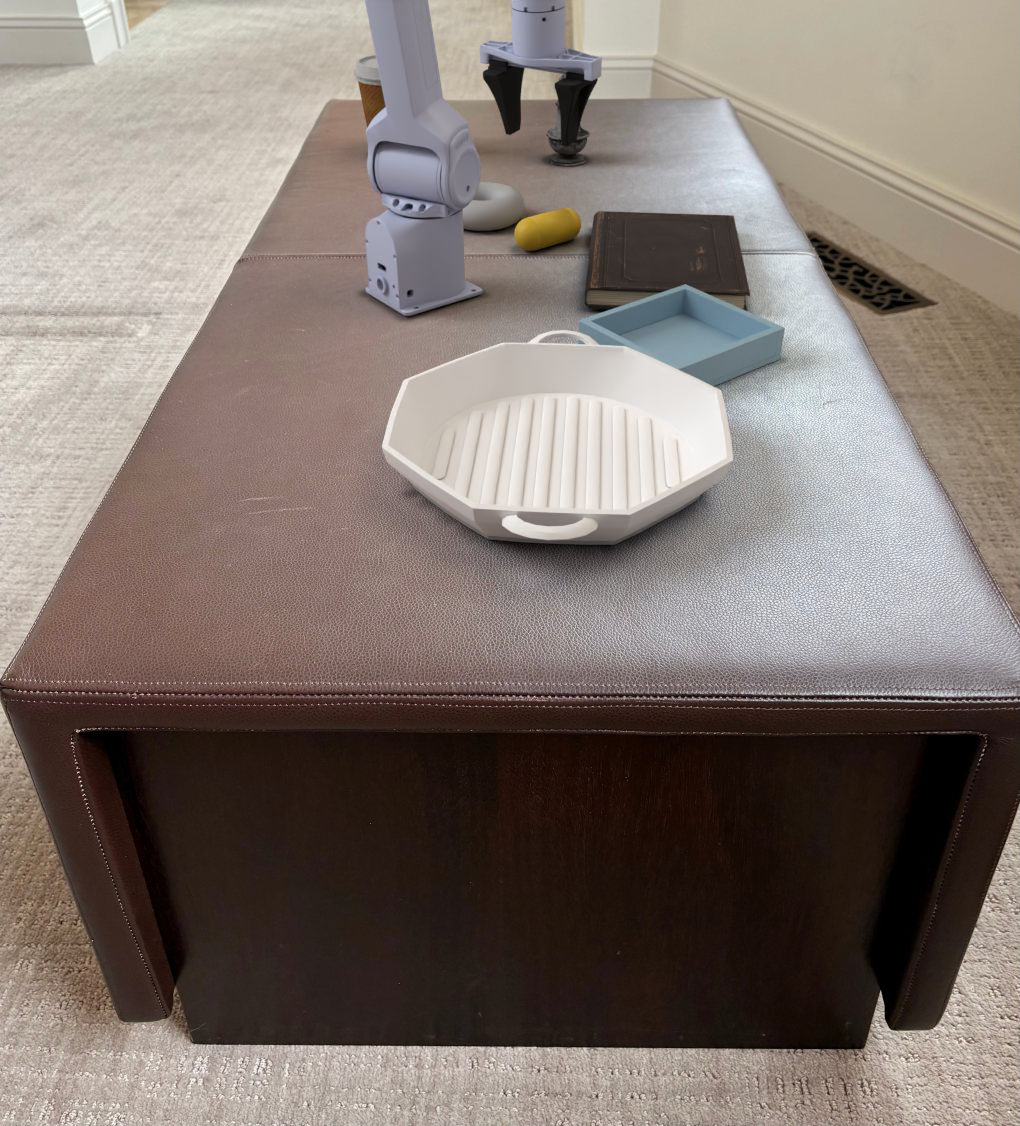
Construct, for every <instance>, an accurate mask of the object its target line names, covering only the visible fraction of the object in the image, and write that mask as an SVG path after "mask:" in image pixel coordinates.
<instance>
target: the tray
mask: <svg viewBox="0 0 1020 1126" xmlns="http://www.w3.org/2000/svg"><path fill="white" fill-rule="evenodd" d="M785 330H786V328H785V327H784V326H782V325H780V324H777V323H775V322H773V321H771V320H768V319H766V318H764V317H762V316H758V315H756V314H754V313H752V312H750V311H748V310H747V311H745V310H743V309H741V308H738V307H736V306H734V305H732V304H729V303H727V302H725V301H722V300H720V299H718V298H716V297H713V296H711V295H709V294H707V293H704V292H702V291H700V290H697V289H695V288H693V287H691V286H688V285H686V284H685V285H682V286H679V287H676V288H673V289H670V290H667V291H664V292H661V293H658V294H655V295H652V296H649V297H646V298H644V299H641V300H638V301H635V302H632V303H629V304H626V305H623V306H620V307H617V308H614V309H611V310H605V311H602V312H599V313H596V314H593V315H591V316H588V317H587V316H586V317H584V318H582V319H579V320H578V332H580V333H582V334H585V335H588V336H590V337H591V338H592V339H593V340H595V341H596V342H597V343H598V344H599V345H611V346H627V347H629V348H631V349H634V350H636V351H638V352H640V353H643V354H645V355H647V356H650V357H652V358H654V359H656V360H658V361H661V362H663V363H665V364H667V365H669V366H671V367H673V368H676V369H678V370H680V371H682V372H684V373H686V374H689V375H691V376H693V377H695V378H697V379H699V380H701V381H703V382H705V383H707V384H709V385H711V386H713V387H715V386H718V385H720V384H723V383H725V382H727V381H730V380H733V379H734V378H735V379H736V378H737V377H739V376H742V375H745V374H747V373H750V372H752V371H755V370H756V369H759V368H761V367H764V366H766V365H769V364H771V363H774V362H777V361H779V360H780V359H781V353H782V350H783V349H782V348H783V343H784V336H785ZM577 344H585V343H584V342H583V341H580V340H578V339H577Z"/></svg>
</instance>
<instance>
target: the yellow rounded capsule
mask: <svg viewBox="0 0 1020 1126" xmlns="http://www.w3.org/2000/svg"><path fill="white" fill-rule="evenodd" d="M516 224H517V225H516V226H515V228H514V232H513V233H514V234H513V235H514V236H513V237H514V240H515V243H516V244H517V246H518V247H519V248H520V249H522V250H523V251H526V252H534V251H539V250H541V249H545V248H548V247H552V246H555V245H558V244H562V243H566V242H569V241H571V240H574V239H575V238H576V237H578V235H579V234H580V231H581V230H582V229H581V228H582V220H581V217H580V215H579V214H578V212H577V211H576V210H575V209H572V208H570V207H562V208H558V209H554V210H550V211H546V212H543V213H539V214H535V215H532V216H528V217H524V218H523V219H520V220H519V221H518V222H517V223H516Z"/></svg>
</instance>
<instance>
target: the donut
mask: <svg viewBox="0 0 1020 1126" xmlns="http://www.w3.org/2000/svg"><path fill="white" fill-rule="evenodd" d="M525 204H526V203H525V198H524V197H523V194H522V193H520V192H519V191H518V190H517V189H516V188H514V187H512V186H509V185H507V184H503V183H497V182H489V181H480V183H479V187H478V190H477V192H476V195H475V196H474V198H473V199H472V201H471V202H470V203H469V205H468V206H466V207H465V208H464V209H463V230H467V231H475V232H489V231H496V230H497V231H498V230H502V229H505V228H508V227H511V226H513V225H515V224H517V223H518V222H520V221H521V218H522V217H523V215H524V213H525V210H526V205H525Z"/></svg>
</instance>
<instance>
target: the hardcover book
mask: <svg viewBox="0 0 1020 1126" xmlns="http://www.w3.org/2000/svg"><path fill="white" fill-rule="evenodd" d="M587 263H588V264H587V271H586V281H585V289H584V297H583V299H584V304H585V307H587V308H588V309H590V310H605V311H608V310H611V309H614V308H617V307H620V306H623V305H626V304H629V303H632V302H635V301H638V300H641V299H644V298H646V297H649V296H652V295H655V294H658V293H661V292H664V291H667V290H670V289H673V288H676V287H679V286H682V285H685V284H686V285H688V286H691V287H693V288H695V289H697V290H700V291H702V292H704V293H707V294H709V295H711V296H713V297H716V298H718V299H720V300H722V301H725V302H727V303H729V304H732V305H734V306H736V307H738V308H741V309H743V310H745V311H747V312H748V308H747V304H746V297H751V291H750V287H749V282H748V277H747V272H746V268H745V263H744V257H743V254H742V248H741V244H740V238H739V234H738V229H737V225H736V219H735V215H733V214H731V215H730V214H701V213H700V214H699V213H672V212H638V211H637V212H635V211H610V210H609V211H605V210H599V211H597V212H596V213H594V215H593V219H592V226H591V236H590V244H589V254H588V262H587Z"/></svg>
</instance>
